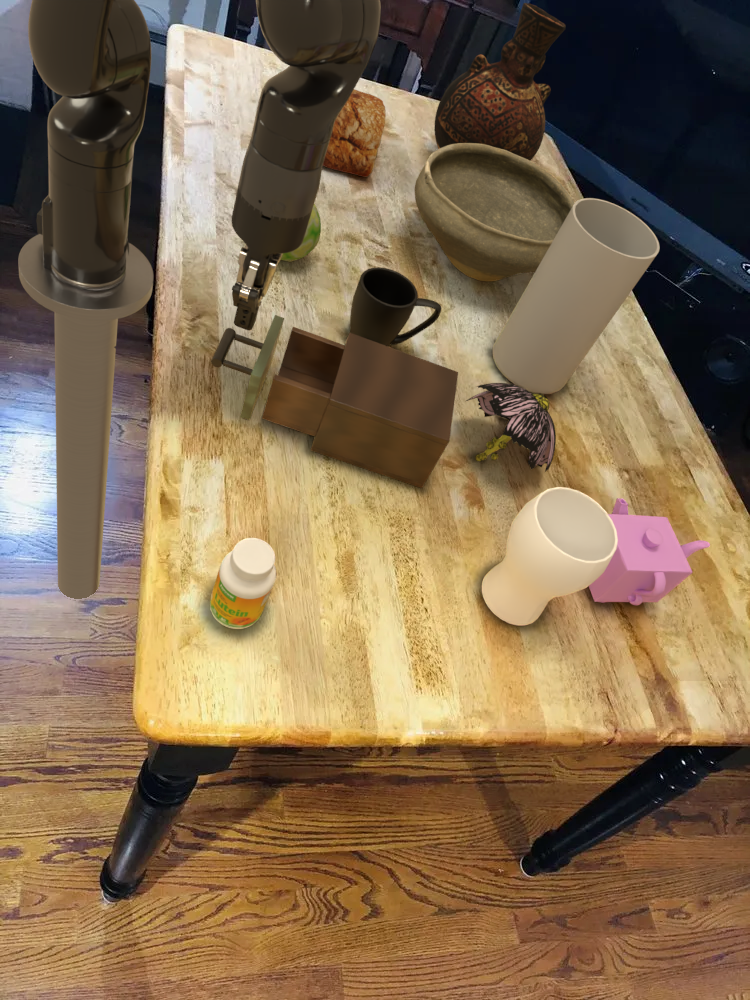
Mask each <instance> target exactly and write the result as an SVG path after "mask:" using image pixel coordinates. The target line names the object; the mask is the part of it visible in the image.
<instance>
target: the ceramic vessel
mask: <svg viewBox="0 0 750 1000" xmlns="http://www.w3.org/2000/svg"><path fill="white" fill-rule="evenodd" d="M564 31H566V24H565V23H564V22H562V21H560V20H559V19H558V18H557V17H555V16H553V15H552V14H549V13H548V12H547V11H546V10H544V9H542V7H541V8H540V7H538V6H537V5H535V4H532V3H528V2H524V3H523V4H522V6H521V9H520V13H519V17H518V22H517V26H516V29H515V31H514V35H513V37H512V38H511V39H510V40H509V41H507V42H506V43H505V44H503V46H502V48H501V52H500V56H501V59H500V61H496V62H492V63H489V62H488V59H487V58H486V56H485V55H484V54H478V55H476V56H475V57H474V58H473V60H472V62H471V64H470V67H469V68H468V69H467V71H465V72H464V73H462V74H461V75H459V76H458V77H457V78H456V79H455V80H453V81H452V82H451V83H450V84H448V86H447V88H446V89H445V91H444V93H443V95H442V96H441V99H440V100H439V102H438V105H437V108H436V111H435V116H434V138H435V142H436V146H437V150H438V149H440V148H442V147H445V146H447V145H451V144H457V143H477V144H485V145H489V146H492V147H496V148H499V149H504V150H507V151H509V152H511V153H513V154H516V155H518V156H520V157H523V158H525V159H528V160H530V161H532V160H533V158H534V157H535V156H536V155H537V153H538V151H539V150H540V148H541V145H542V142H543V140H544V135H545V131H546V112H545V108H544V104H545V103H546V101H547V99H548V97H549V96H550V94H551V91H552V90H551V89H552V88H551V86H550V85H549V84H546V83H536V81H535V80H534V77H535V76H536V75H537V74H538V73H539V72H540V71H541V70H542V68H543V66H544V64H545V62H546V58H547V56H546V53H547V52H548V51H549V49H550V47H551V46H552V45H553V43H554V42H555V41H556V40H557V39H558V38H559V37H560V36H561V35H562V34H563V32H564Z"/></svg>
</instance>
